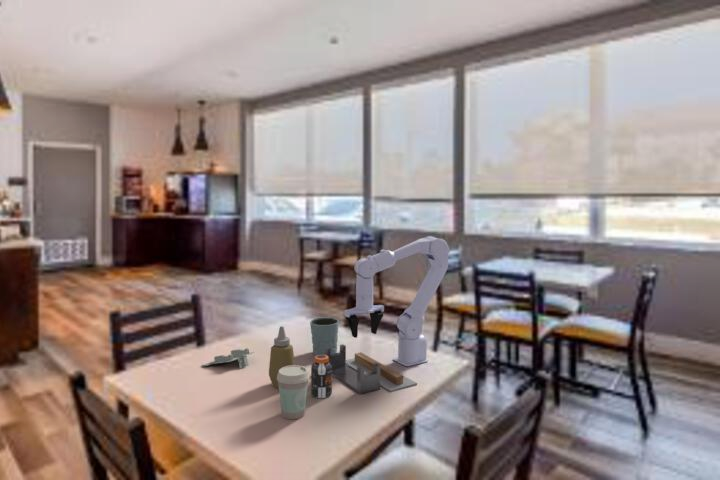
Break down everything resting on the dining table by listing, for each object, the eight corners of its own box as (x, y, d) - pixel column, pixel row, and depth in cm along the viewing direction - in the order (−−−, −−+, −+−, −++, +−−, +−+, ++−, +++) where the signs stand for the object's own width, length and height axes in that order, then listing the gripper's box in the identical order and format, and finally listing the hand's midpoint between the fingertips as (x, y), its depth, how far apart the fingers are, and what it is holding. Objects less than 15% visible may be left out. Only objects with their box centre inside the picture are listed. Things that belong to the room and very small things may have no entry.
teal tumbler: (344, 352, 174) (344, 319, 173) (327, 360, 166) (327, 326, 164) (321, 347, 180) (321, 315, 178) (304, 354, 171) (304, 322, 170)
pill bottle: (328, 399, 135) (328, 361, 134) (308, 397, 136) (308, 359, 135) (334, 391, 141) (334, 353, 140) (314, 389, 142) (314, 352, 141)
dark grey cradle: (342, 366, 161) (343, 344, 160) (380, 389, 142) (380, 364, 141) (324, 370, 157) (324, 347, 156) (360, 394, 139) (360, 369, 138)
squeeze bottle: (300, 381, 147) (300, 324, 145) (288, 392, 140) (287, 332, 138) (277, 378, 150) (276, 322, 148) (263, 388, 142) (262, 329, 140)
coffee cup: (295, 425, 120) (295, 379, 119) (270, 416, 125) (269, 372, 123) (316, 412, 128) (316, 368, 126) (291, 404, 132) (291, 362, 131)
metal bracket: (259, 344, 165) (225, 357, 152) (263, 361, 165) (229, 375, 152) (231, 348, 173) (197, 360, 160) (235, 364, 172) (201, 378, 160)
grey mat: (366, 357, 169) (366, 355, 169) (417, 384, 146) (417, 383, 146) (342, 362, 164) (342, 360, 164) (390, 391, 140) (390, 390, 140)
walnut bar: (360, 359, 166) (360, 352, 165) (403, 383, 145) (403, 375, 145) (354, 360, 164) (354, 353, 164) (396, 385, 144) (396, 377, 144)
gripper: (352, 300, 152) (352, 341, 153) (389, 295, 159) (388, 334, 161) (341, 295, 158) (341, 336, 159) (377, 291, 165) (377, 329, 167)
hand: (364, 335), depth 160 cm, fingers open, 7 cm apart
